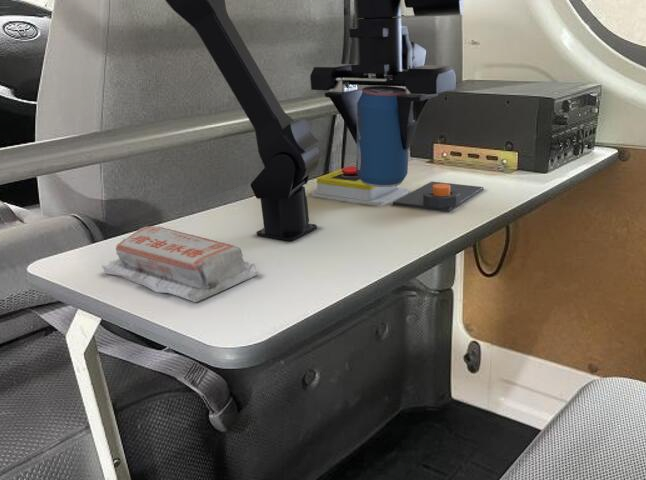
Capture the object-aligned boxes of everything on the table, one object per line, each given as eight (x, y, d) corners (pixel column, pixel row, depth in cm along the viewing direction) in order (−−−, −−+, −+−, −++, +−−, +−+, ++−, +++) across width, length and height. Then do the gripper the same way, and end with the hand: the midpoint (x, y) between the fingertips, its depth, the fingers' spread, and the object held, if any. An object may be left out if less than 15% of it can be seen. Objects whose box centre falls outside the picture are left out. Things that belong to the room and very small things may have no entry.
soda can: (417, 182, 86) (422, 90, 80) (380, 192, 81) (383, 96, 76) (382, 171, 90) (385, 83, 84) (345, 179, 86) (346, 87, 80)
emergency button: (338, 159, 114) (409, 167, 107) (340, 183, 116) (410, 192, 108) (306, 170, 107) (379, 180, 100) (308, 195, 109) (380, 206, 102)
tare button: (445, 198, 98) (445, 188, 97) (429, 196, 99) (429, 187, 99) (453, 194, 100) (453, 184, 99) (437, 192, 101) (437, 182, 101)
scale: (450, 213, 97) (450, 199, 96) (391, 205, 102) (391, 192, 101) (485, 190, 108) (485, 177, 107) (431, 184, 113) (431, 172, 112)
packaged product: (255, 238, 75) (188, 266, 68) (260, 276, 77) (195, 306, 70) (161, 216, 85) (93, 238, 77) (168, 250, 87) (102, 274, 79)
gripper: (475, 14, 78) (473, 140, 85) (352, 17, 88) (358, 131, 94) (433, 17, 70) (434, 157, 76) (302, 21, 79) (313, 146, 86)
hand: (382, 146), depth 83 cm, fingers closed on soda can, 7 cm apart
